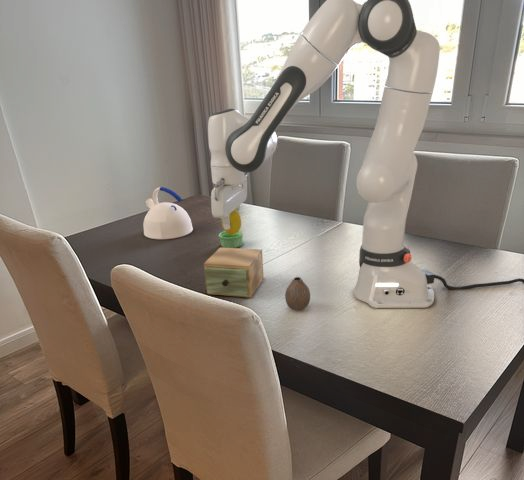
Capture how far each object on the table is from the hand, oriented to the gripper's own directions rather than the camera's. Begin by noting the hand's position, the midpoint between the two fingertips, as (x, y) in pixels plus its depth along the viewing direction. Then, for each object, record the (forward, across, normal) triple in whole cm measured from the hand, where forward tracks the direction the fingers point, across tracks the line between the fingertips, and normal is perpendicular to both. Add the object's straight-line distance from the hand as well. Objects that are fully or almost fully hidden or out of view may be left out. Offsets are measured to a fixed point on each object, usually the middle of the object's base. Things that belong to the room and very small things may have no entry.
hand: (231, 224), depth 141 cm
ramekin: (+20, +36, +14) cm, 44 cm away
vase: (+20, -11, -22) cm, 31 cm away
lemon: (+3, 0, 0) cm, 3 cm away
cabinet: (+19, 0, 0) cm, 19 cm away
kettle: (+20, +48, +46) cm, 70 cm away
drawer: (+18, -2, 0) cm, 19 cm away
